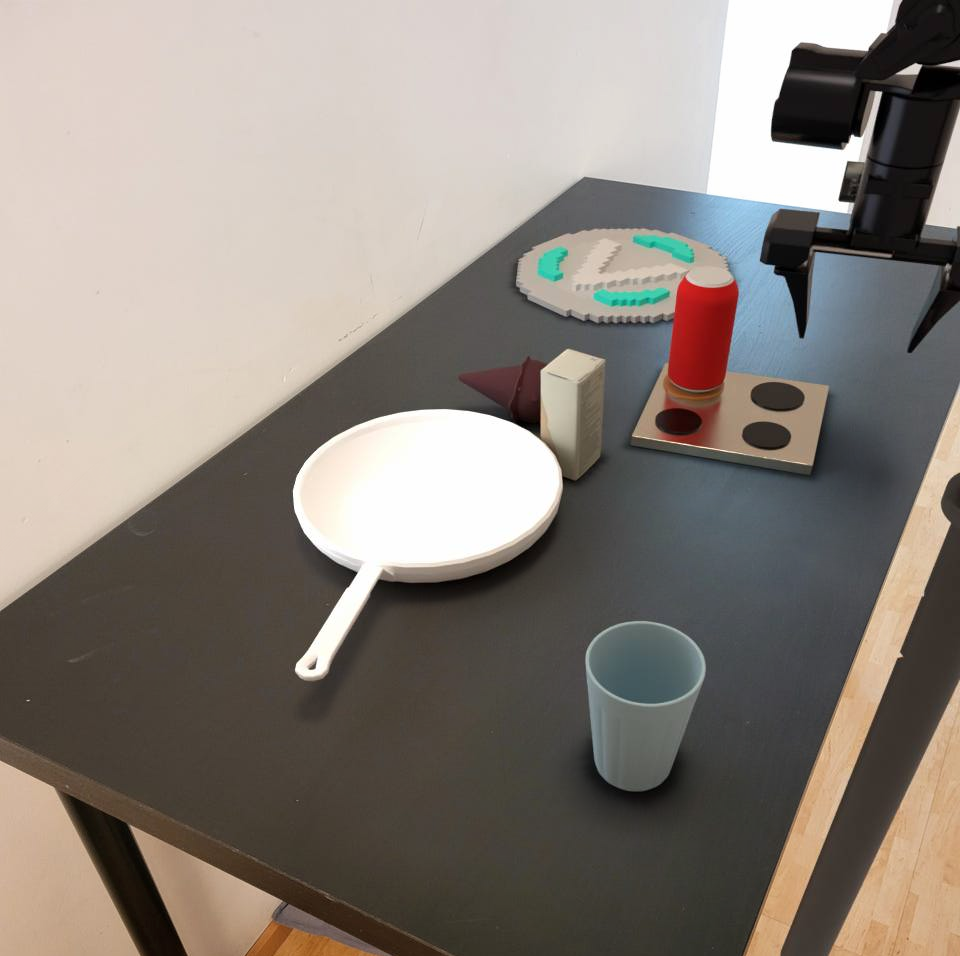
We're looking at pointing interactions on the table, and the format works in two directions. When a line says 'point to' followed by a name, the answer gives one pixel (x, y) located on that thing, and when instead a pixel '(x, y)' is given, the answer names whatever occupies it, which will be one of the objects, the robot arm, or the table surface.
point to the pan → (421, 505)
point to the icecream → (511, 388)
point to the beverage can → (702, 329)
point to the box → (573, 410)
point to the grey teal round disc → (612, 273)
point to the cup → (640, 700)
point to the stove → (737, 421)
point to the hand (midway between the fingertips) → (854, 343)
